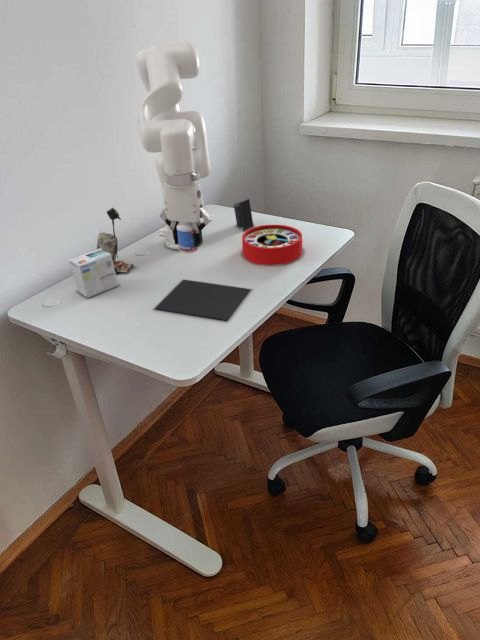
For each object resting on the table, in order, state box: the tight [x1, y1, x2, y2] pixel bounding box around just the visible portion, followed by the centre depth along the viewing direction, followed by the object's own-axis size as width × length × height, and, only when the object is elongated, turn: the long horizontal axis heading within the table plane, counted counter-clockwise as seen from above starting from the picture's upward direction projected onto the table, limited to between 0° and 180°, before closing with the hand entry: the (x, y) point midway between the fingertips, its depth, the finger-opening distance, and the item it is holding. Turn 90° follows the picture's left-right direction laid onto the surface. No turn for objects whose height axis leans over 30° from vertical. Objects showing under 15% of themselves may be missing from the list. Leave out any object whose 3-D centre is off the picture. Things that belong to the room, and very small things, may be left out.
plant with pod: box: [96, 207, 134, 274], centre depth 163 cm, size 8×11×20 cm
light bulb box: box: [68, 248, 119, 299], centre depth 155 cm, size 11×7×11 cm, turn 134°
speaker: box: [233, 198, 255, 232], centre depth 193 cm, size 8×6×10 cm
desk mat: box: [154, 279, 251, 322], centre depth 151 cm, size 22×18×1 cm
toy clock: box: [241, 224, 303, 266], centre depth 174 cm, size 20×6×20 cm
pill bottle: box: [177, 221, 199, 254], centre depth 143 cm, size 6×5×10 cm
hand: (188, 243), depth 145 cm, fingers closed on pill bottle, 5 cm apart
